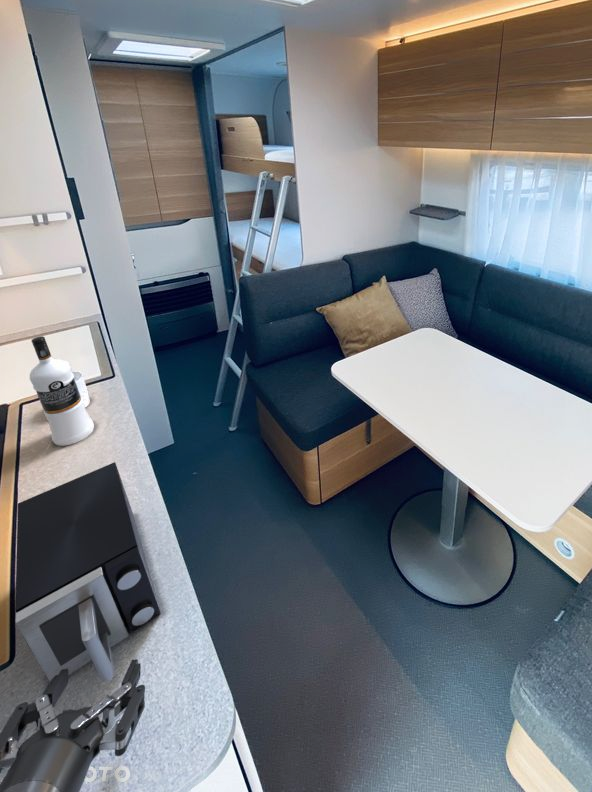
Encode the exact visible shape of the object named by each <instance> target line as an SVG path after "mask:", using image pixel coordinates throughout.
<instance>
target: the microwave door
mask: <svg viewBox="0 0 592 792" xmlns="http://www.w3.org/2000/svg"><path fill="white" fill-rule="evenodd" d="M15 625H16V627H17V628H18V630H19V632H20V633H21V635H22V637H23V639H24V640H25V642H26V644H27V646H28V647H29V649H30V650H31V652H32V654H33V655H34V658H35V659H36V661H37V663H38V665H39V666H40V668H41V669H42V671H43V673H44V674H45V676H46V678H47V680H48V681H49V682H50V681H51V680H52V678H53V677H54V676H55V675H58V674H59V673H60V671H61V670H62V669H68V676H70V675H71V674H73V673H74V672H76V671H77V670H79V669H80V668H82V667H84V666H85V665H87V664H89V663H90V662H91V661H92V663H93V665H94V667H95V669H96V671H97V673H98V675H99V677H100V680H101V682H103V683H108V682H109V681H111V680H112V679H113V678H114V675H115V673H116V671H115V666H114V665H115V664H114V659H113V652H112V648H113V647H114V646H116V645H117V644H119V643H121V642H122V641H124V640H125V639H127V638H129V631H128V627H127V626H126V624H125V622H124V619H123V617H122V615H121V612H120V610H119V607H118V605H117V603H116V600H115V598H114V595H113V593H112V591H111V588H110V586H109V583H108V581H107V578H106V576H105V574H104V571H103V569H102V567H100V568H98V569H96V570H94V571H92V572H90V573H88V574H87V575H85V576H83V577H81V578H79V579H77V580H76V581H74V582H72V583H70V584H68V585H66V586H65V587H63V588H61V589H59V590H57V591H55V592H54V593H52V594H50V595H48V596H46V597H44V598H43V599H41V600H39V601H37V602H35V603H33V604H32V605H30V606H28V607H26V608H24V609H22V610H21V611H19V612H17V613H16V612H15Z"/></svg>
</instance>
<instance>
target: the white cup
mask: <svg viewBox="0 0 592 792" xmlns="http://www.w3.org/2000/svg"><path fill="white" fill-rule="evenodd" d="M72 373H73V374H74V379H75V382H76V385H77V388H78V390H79V393H80V396H81V398H82V399H83V404H84V407H85V408H87V407H88V406H89V405H90V402H91V401H90V400H91V399H90V396H89V392H88V388H87V387H88V386H87V384H86V381H85V377H84V374H83V372H81V371H72Z"/></svg>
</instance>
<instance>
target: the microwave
mask: <svg viewBox="0 0 592 792" xmlns="http://www.w3.org/2000/svg"><path fill="white" fill-rule="evenodd" d="M16 516H17V518H16V519H17V521H16V522H17V523H16V558H15V561H16V565H15V566H16V567H15V600H14V601H15V603H14V605H15V606H14V608H15V609H14V611H15V614H16V613H17V612H19V611H21V610H22V609H24V608H26V607H28V606H30V605H32V604H33V603H35V602H37V601H39V600H41V599H43V598H44V597H46V596H48V595H50V594H52V593H54V592H55V591H57V590H59V589H61V588H63V587H65V586H66V585H68V584H70V583H72V582H74V581H76V580H77V579H79V578H81V577H83V576H85V575H87V574H88V573H90V572H92V571H94V570H96V569H98V568H100V567H102V569H103V571H104V574H105V576H106V578H107V581H108V583H109V586H110V588H111V591H112V593H113V595H114V598H115V600H116V603H117V605H118V607H119V610H120V612H121V615H122V617H123V619H124V622H125V624H126V627H127V626H128V629H129V631H130V633H134V632H135V631H136V630H138V629H140V628H142V627H143V626H145V625H146V624H148V623H149V622H151V621H152V620H154V619H155V618H157V617H158V616H160V615H161V614H162V612H161V609H160V604H159V602H158V601H159V600H158V598H157V597H158V596H157V594H156V591H155V587H154V583H153V580H152V576H151V572H150V568H149V566H148V562H147V558H146V555H145V554H146V553H145V551H144V547H143V544H142V540H141V537H140V533H139V529H138V525H137V521H136V518H135V516H134V512H133V509H132V507H131V504H130V501H129V498H128V496H127V492H126V489H125V486H124V483H123V480H122V478H121V474H120V472H119V469H118V465H117V463H116V462H115V461H113V462H112V463H108V464H106V465H105V466H102V467H100V468H98V469H94V470H93V471H90V472H88V473H86V474H83V475H81V476H79V477H76V478H74V479H72V480H69V481H67V482H65V483H61V484H60V485H57V486H55V487H53V488H51V489H47V490H46V491H43V492H42V493H39V494H36V495H34V496H32V497H29V498H27V499H25V500H23V501H20V502H18V503H17V515H16Z"/></svg>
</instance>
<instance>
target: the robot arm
mask: <svg viewBox="0 0 592 792" xmlns="http://www.w3.org/2000/svg"><path fill="white" fill-rule="evenodd" d="M141 668H142V665H141V663H139V659H138V658H135V659H131V660H130V663H129V666H128V667H127V670H126V672H125V674H124V677H123V679H122V680H121V686H120V687H118V688H117V690H115V691H114V692H113V693H112V694H111V695H109V694H107V695H105V696H104V697H103V698H101V699H100V700H98V702H97V703H96V704H94V705H93V706H92V705H89V706H85V707H81V708H78V709H72V708H71V709H64V710H62V712H61V713H58V714H57V715H56V712H55V710H54V709H55V707H56V705H57V703H58V701H59V700H60V698H61V697H62V695H63V693H64V691H65V690H66V688H67V687H68V686H67V685H68V683H69V675H68V669H62V670H61V671H60V673H59V674H58V675H55V676H54V677H53V678H52V680H51V681H49V683H48V685H47V686H46V688H45V689H44V691H43V692H42V694H41V695H39V697H37V698H36V700H35V701H34V702H32V703H29V702H27V701H24V702H21V703H19V704H18V705H17V706H16V707H15V708H14V710H13V712H12V713H11V714H10V717H9V718H8V719H7V722H6V723H5V725H4V727H2V728H3V729H2V730H1V732H0V774H1V773H2V772H3V770H4V769H5V768H9V769H8V770H7V772H6V774H5V776H4V777H3V779H2V781H1V782H0V792H80V791H81V789H82V787H83V784H84V781H85V779H86V777H87V775H88V772H89V769H90V767H91V764H92V762H93V761H94V759H96V757H97V756H98V755H99V754H100V753H101V751H109V750H114V755H115V756H116V757H120V756H122V755H124V754H125V753H126V752H127V749H128V747H129V745H130V743H131V740H132V738H133V736H134V733H135V732H136V729H137V726H138V724H139V721H140V719H141V716H142V714H143V712H144V710H145V707H146V704H145V703H146V701H145V697H146V695H145V693H146V685H144V684H139V681H140V679H141V672H142V671H141V670H142V669H141ZM138 684H139V685H138ZM101 715H102V718H101V720H100V717H99V716H101ZM120 717H121V718H120ZM119 718H120V719H119ZM33 723H34V724H35V727H36V732H34V733H33V734H32V735H31V736H30V737H28V738H27V739H26V740H24V742H23V743H22V744H21V745H20V746H19V747H18V743H19V741H20V739H21V737H22V736H23V734H24V733H25V731H26V729H27V726H29V724H33Z"/></svg>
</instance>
